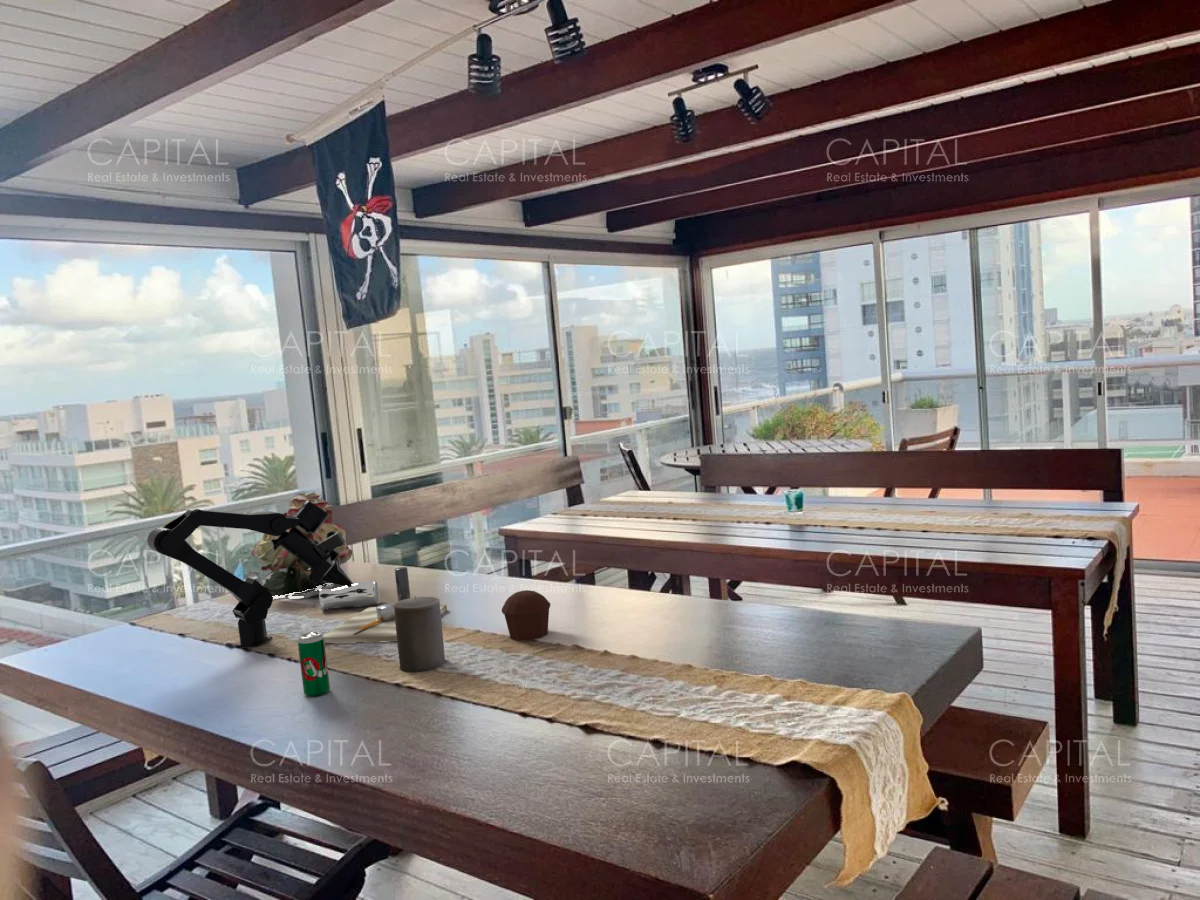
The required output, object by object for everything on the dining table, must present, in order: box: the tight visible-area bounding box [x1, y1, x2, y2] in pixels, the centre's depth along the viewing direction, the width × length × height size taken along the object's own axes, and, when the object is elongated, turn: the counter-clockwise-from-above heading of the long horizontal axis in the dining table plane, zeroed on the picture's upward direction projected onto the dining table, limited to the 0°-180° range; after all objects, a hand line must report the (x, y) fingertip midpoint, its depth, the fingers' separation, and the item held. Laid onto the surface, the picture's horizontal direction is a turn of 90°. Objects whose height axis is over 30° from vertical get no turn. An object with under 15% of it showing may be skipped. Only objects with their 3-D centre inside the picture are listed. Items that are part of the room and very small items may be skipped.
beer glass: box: [318, 579, 380, 610], centre depth 248 cm, size 7×7×15 cm
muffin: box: [501, 589, 551, 642], centre depth 207 cm, size 12×11×10 cm
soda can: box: [297, 631, 331, 698], centre depth 180 cm, size 5×5×12 cm
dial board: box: [322, 604, 448, 644], centre depth 225 cm, size 26×22×2 cm
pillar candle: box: [393, 595, 446, 673], centre depth 192 cm, size 10×10×15 cm
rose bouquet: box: [250, 491, 353, 599], centre depth 272 cm, size 26×29×30 cm
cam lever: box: [360, 566, 412, 630], centre depth 225 cm, size 18×5×11 cm, turn 153°
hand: (351, 585), depth 230 cm, fingers closed
